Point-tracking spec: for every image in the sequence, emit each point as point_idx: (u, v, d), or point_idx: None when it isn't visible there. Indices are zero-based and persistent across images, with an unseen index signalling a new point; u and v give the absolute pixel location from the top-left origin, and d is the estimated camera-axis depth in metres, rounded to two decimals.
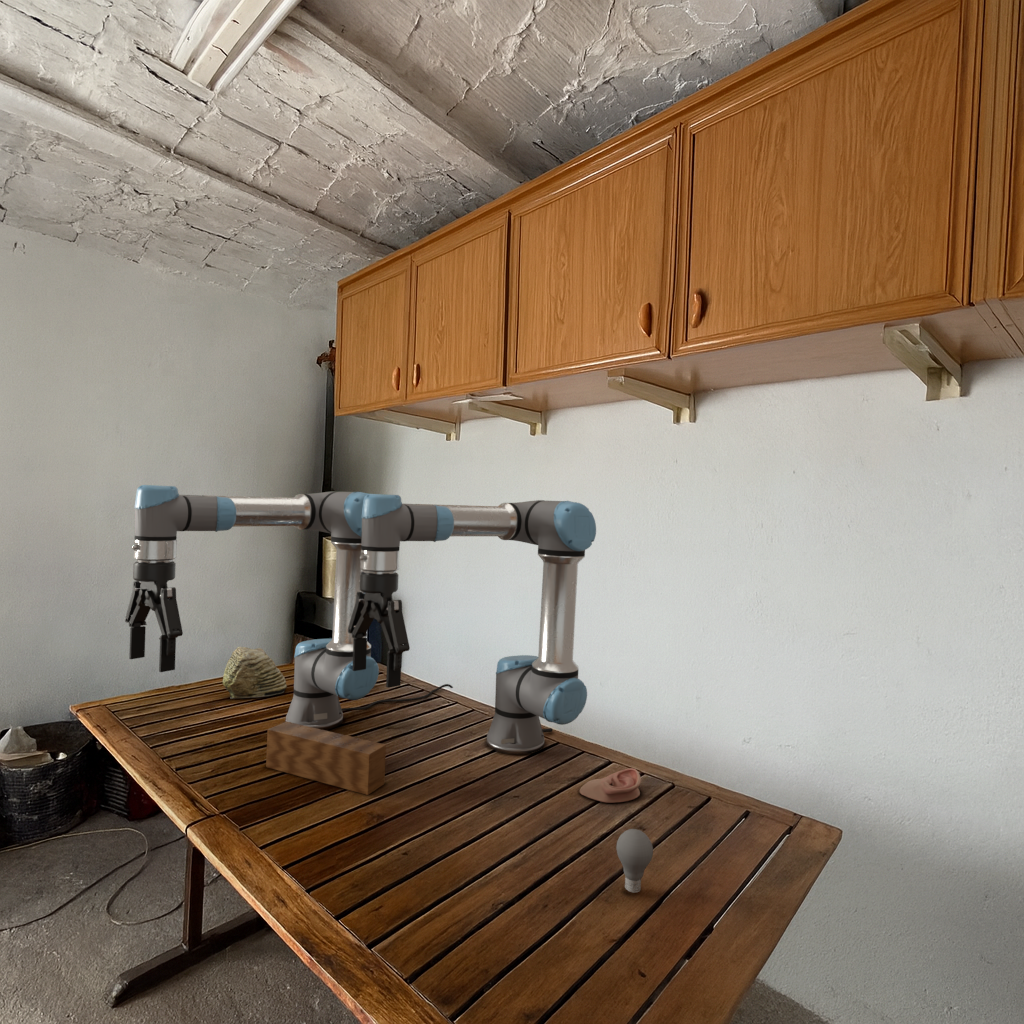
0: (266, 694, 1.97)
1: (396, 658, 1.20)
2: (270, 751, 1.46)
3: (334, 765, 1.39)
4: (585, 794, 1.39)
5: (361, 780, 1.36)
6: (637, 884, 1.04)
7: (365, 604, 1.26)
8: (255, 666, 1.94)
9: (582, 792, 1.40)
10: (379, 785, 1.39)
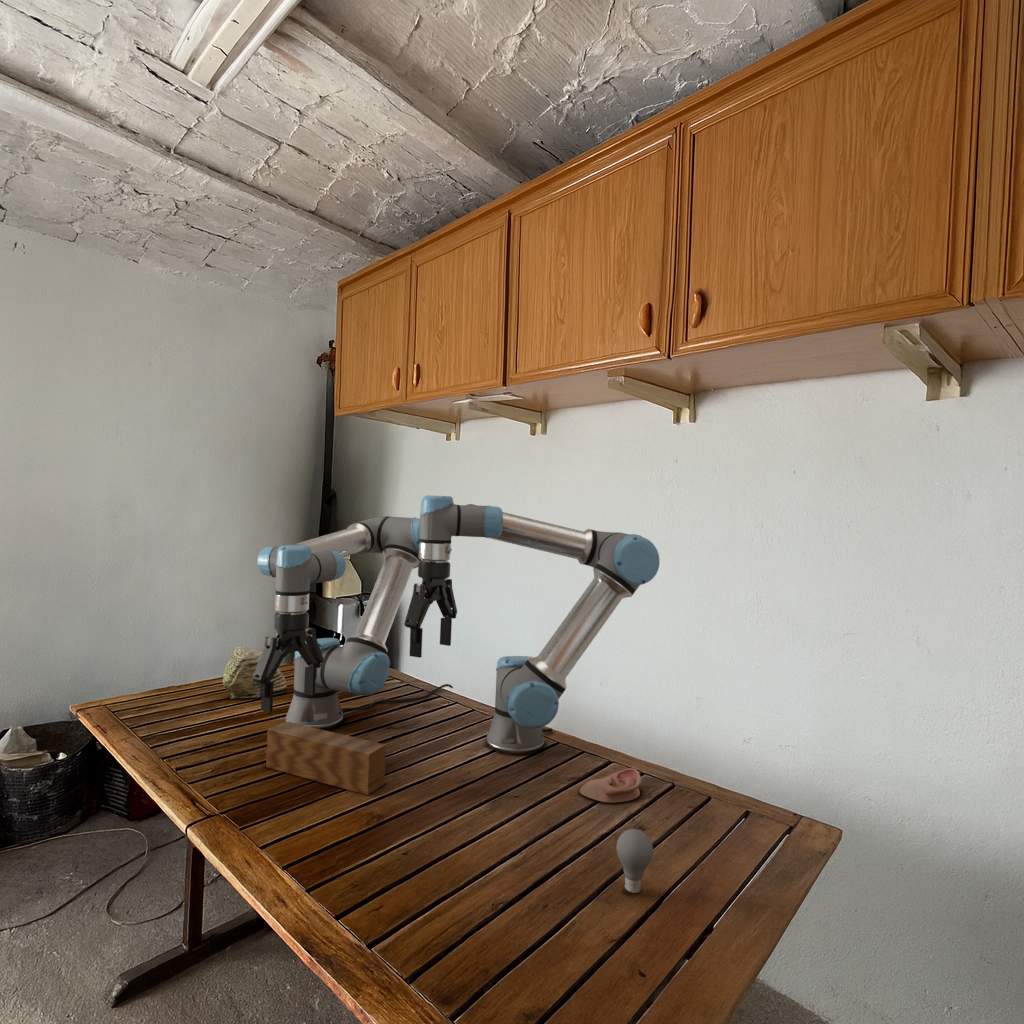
0: None
1: None
2: (270, 751, 1.46)
3: (334, 765, 1.39)
4: (585, 794, 1.39)
5: (361, 780, 1.36)
6: (637, 884, 1.04)
7: (437, 590, 1.47)
8: (255, 666, 1.94)
9: (582, 792, 1.40)
10: (379, 785, 1.39)
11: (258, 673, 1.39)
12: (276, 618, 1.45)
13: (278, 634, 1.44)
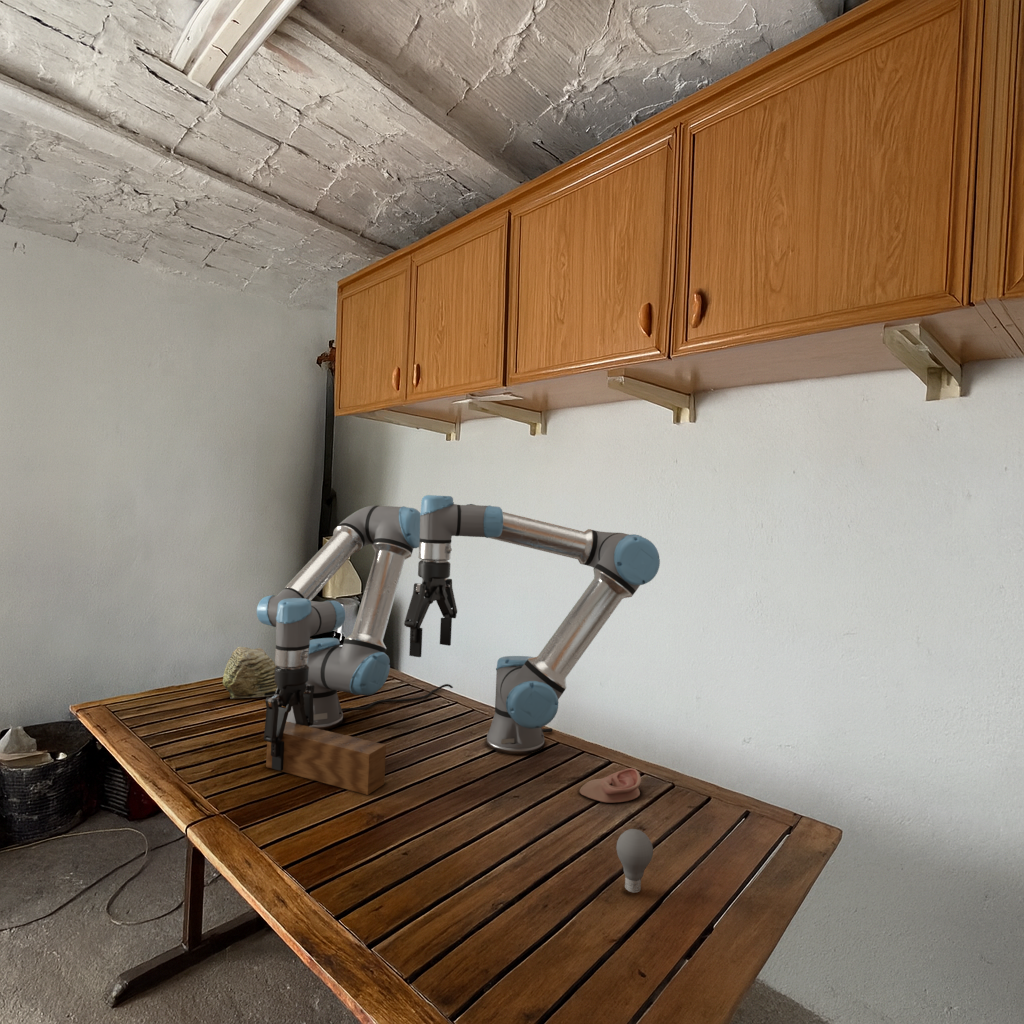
0: (266, 694, 1.97)
1: None
2: (270, 751, 1.46)
3: (334, 765, 1.39)
4: (585, 794, 1.39)
5: (361, 780, 1.36)
6: (637, 884, 1.04)
7: (437, 590, 1.47)
8: (255, 666, 1.94)
9: (582, 792, 1.40)
10: (379, 785, 1.39)
11: (268, 734, 1.42)
12: (276, 673, 1.45)
13: (278, 689, 1.45)
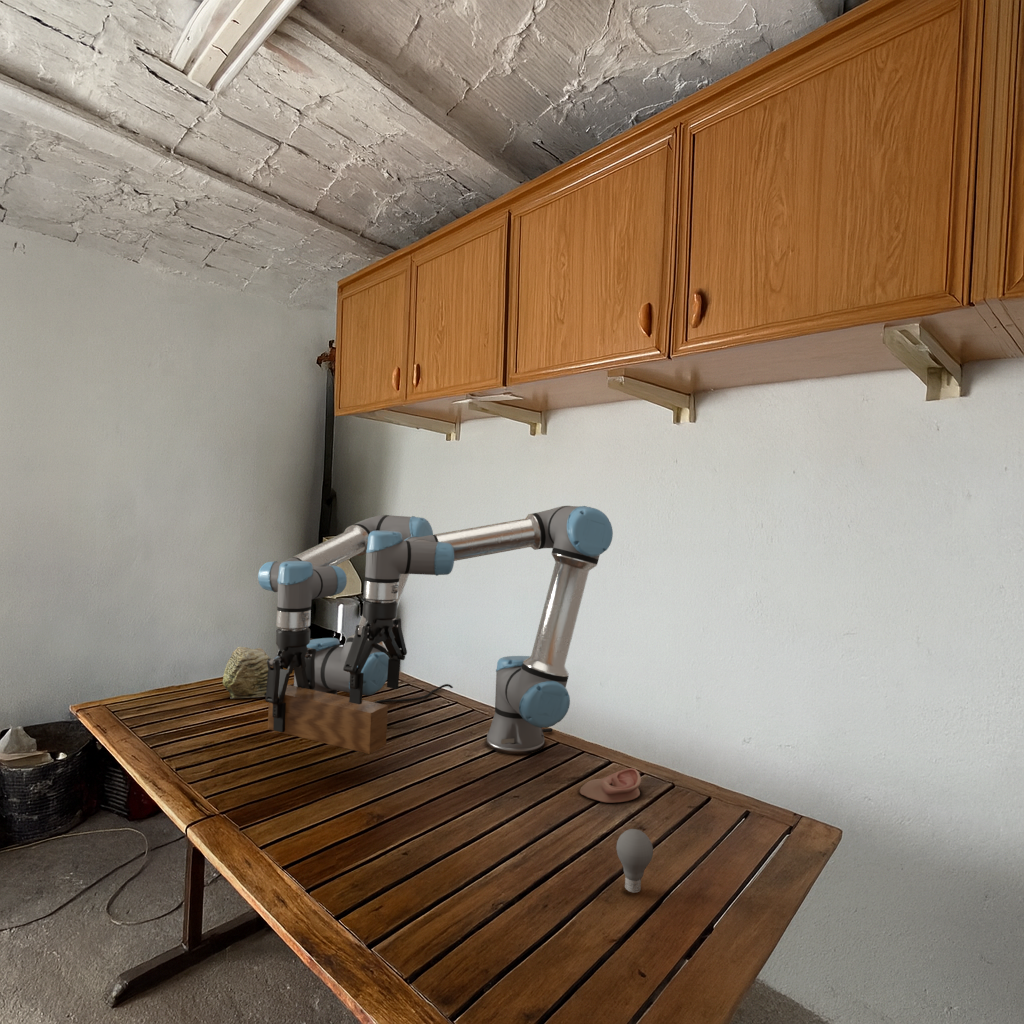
0: None
1: None
2: None
3: (336, 725, 1.39)
4: (585, 794, 1.39)
5: (363, 739, 1.36)
6: (637, 884, 1.04)
7: (381, 632, 1.39)
8: (255, 666, 1.94)
9: (582, 792, 1.40)
10: (381, 745, 1.39)
11: (269, 695, 1.42)
12: (278, 634, 1.45)
13: (280, 650, 1.44)
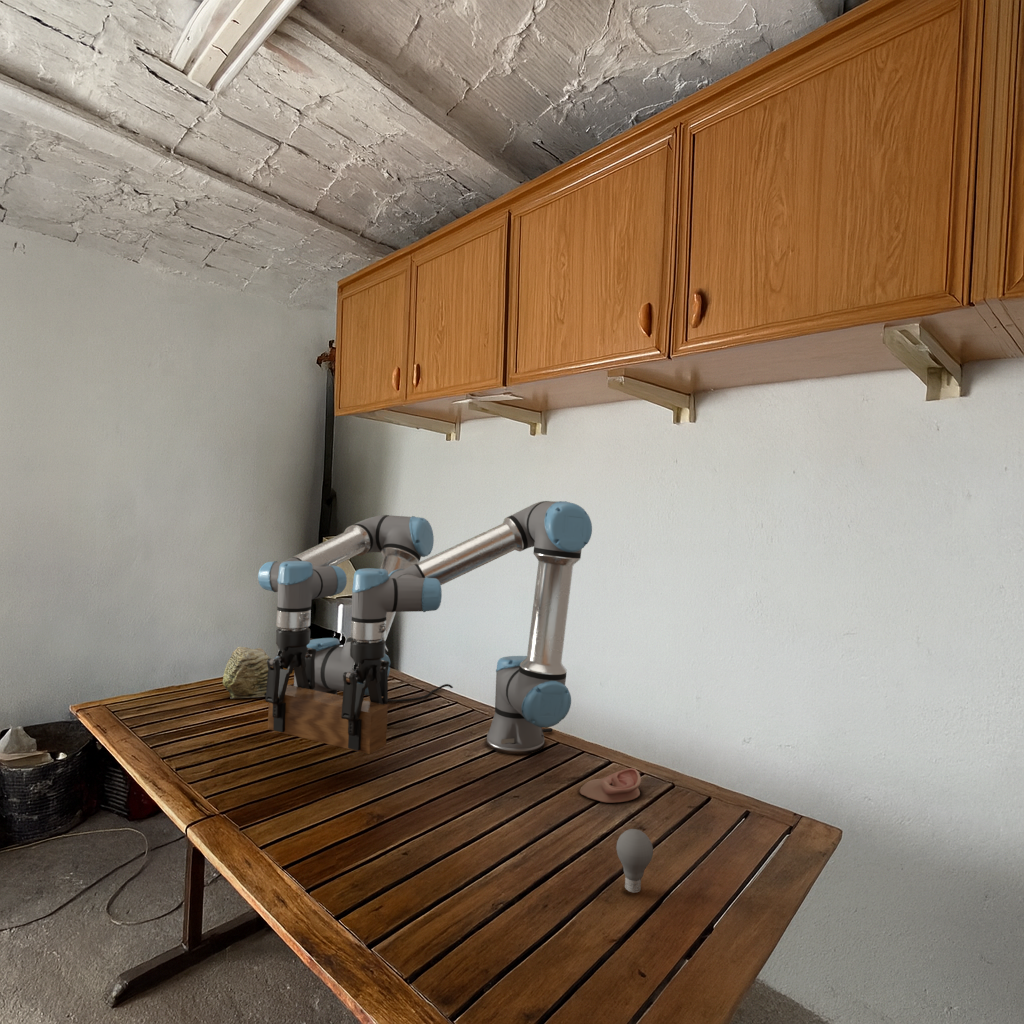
0: None
1: None
2: None
3: (336, 725, 1.39)
4: (585, 794, 1.39)
5: (363, 739, 1.36)
6: (637, 884, 1.04)
7: (370, 672, 1.37)
8: (255, 666, 1.94)
9: (582, 792, 1.40)
10: (381, 745, 1.39)
11: (269, 695, 1.42)
12: (278, 634, 1.45)
13: (280, 650, 1.44)
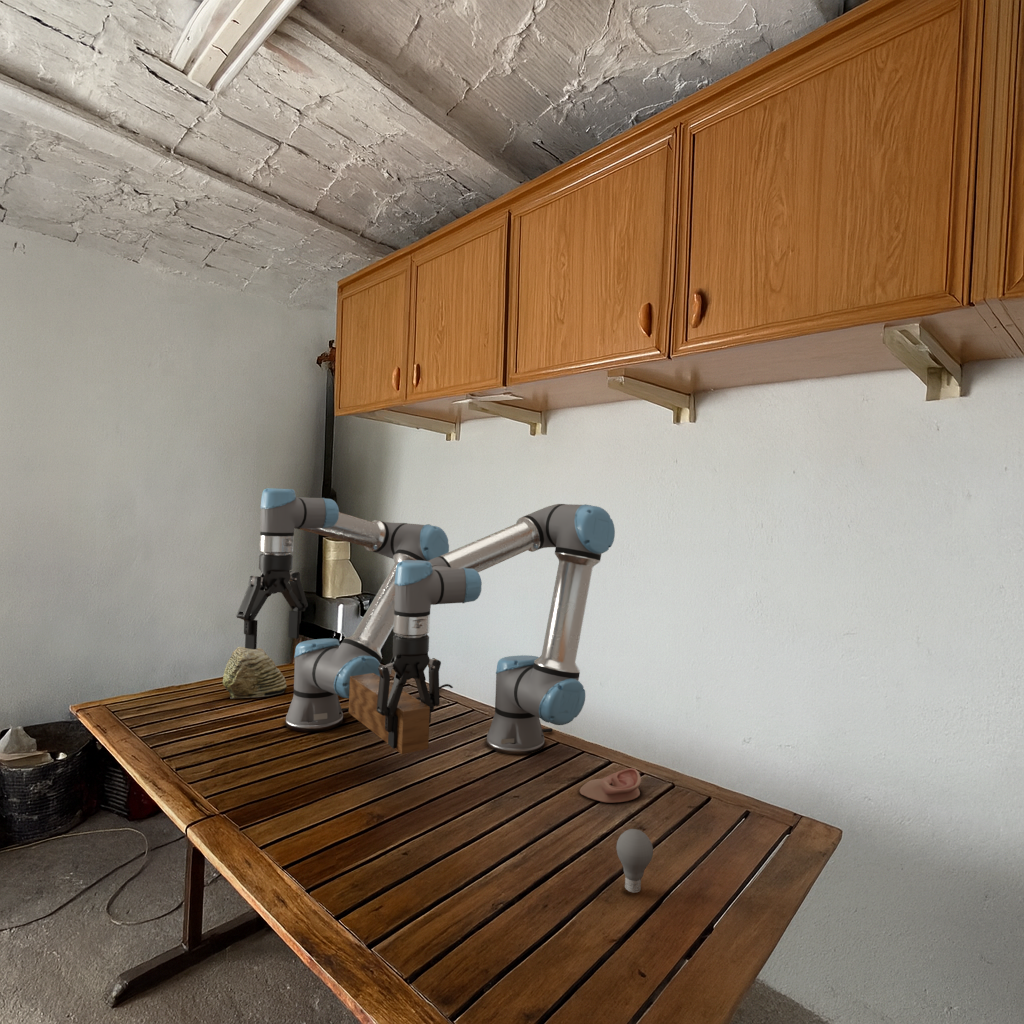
0: (266, 694, 1.97)
1: None
2: (350, 698, 1.51)
3: (383, 718, 1.36)
4: (585, 794, 1.39)
5: (398, 738, 1.30)
6: (637, 884, 1.04)
7: (408, 669, 1.31)
8: (255, 666, 1.94)
9: (582, 792, 1.40)
10: (420, 748, 1.31)
11: (242, 610, 1.41)
12: (260, 558, 1.47)
13: (262, 574, 1.46)
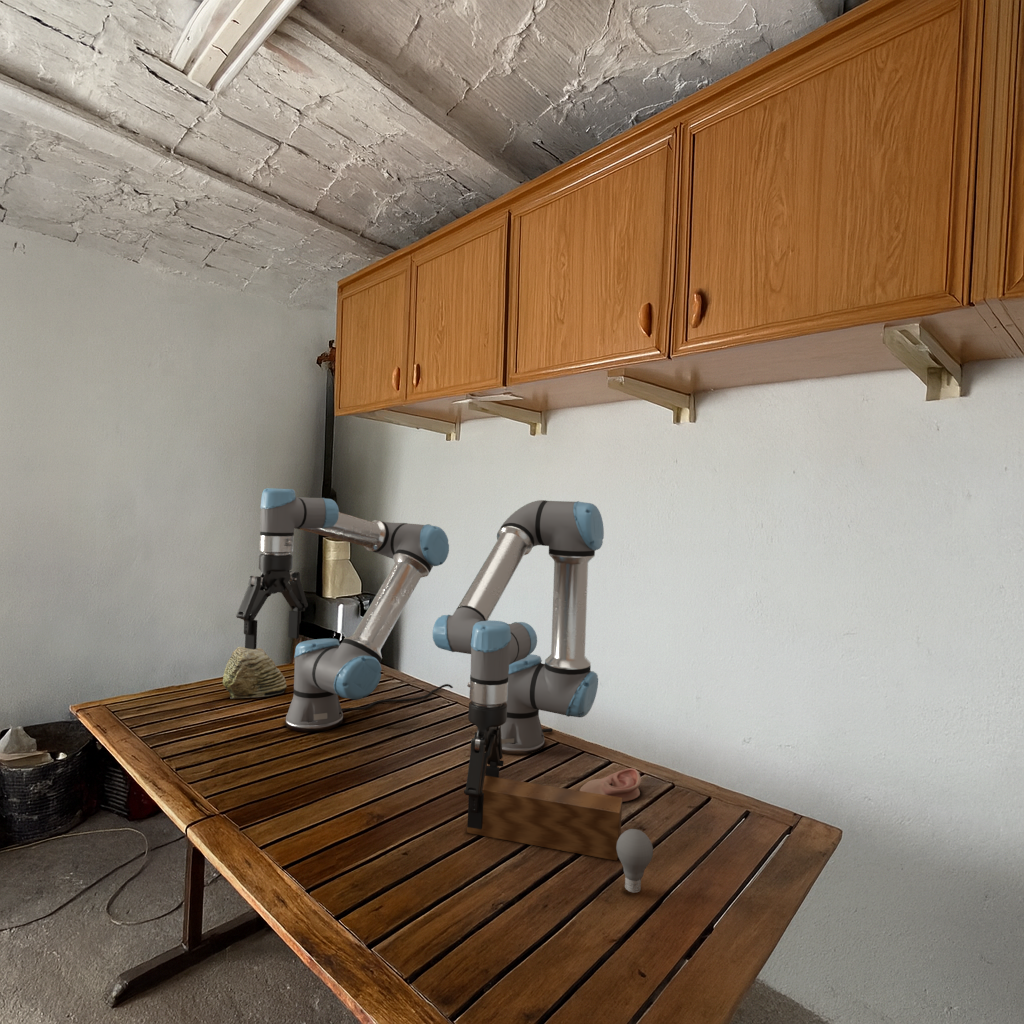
0: (266, 694, 1.97)
1: (471, 800, 1.17)
2: None
3: None
4: None
5: None
6: (637, 884, 1.04)
7: None
8: (255, 666, 1.94)
9: None
10: None
11: (242, 610, 1.41)
12: (260, 558, 1.47)
13: (262, 574, 1.46)
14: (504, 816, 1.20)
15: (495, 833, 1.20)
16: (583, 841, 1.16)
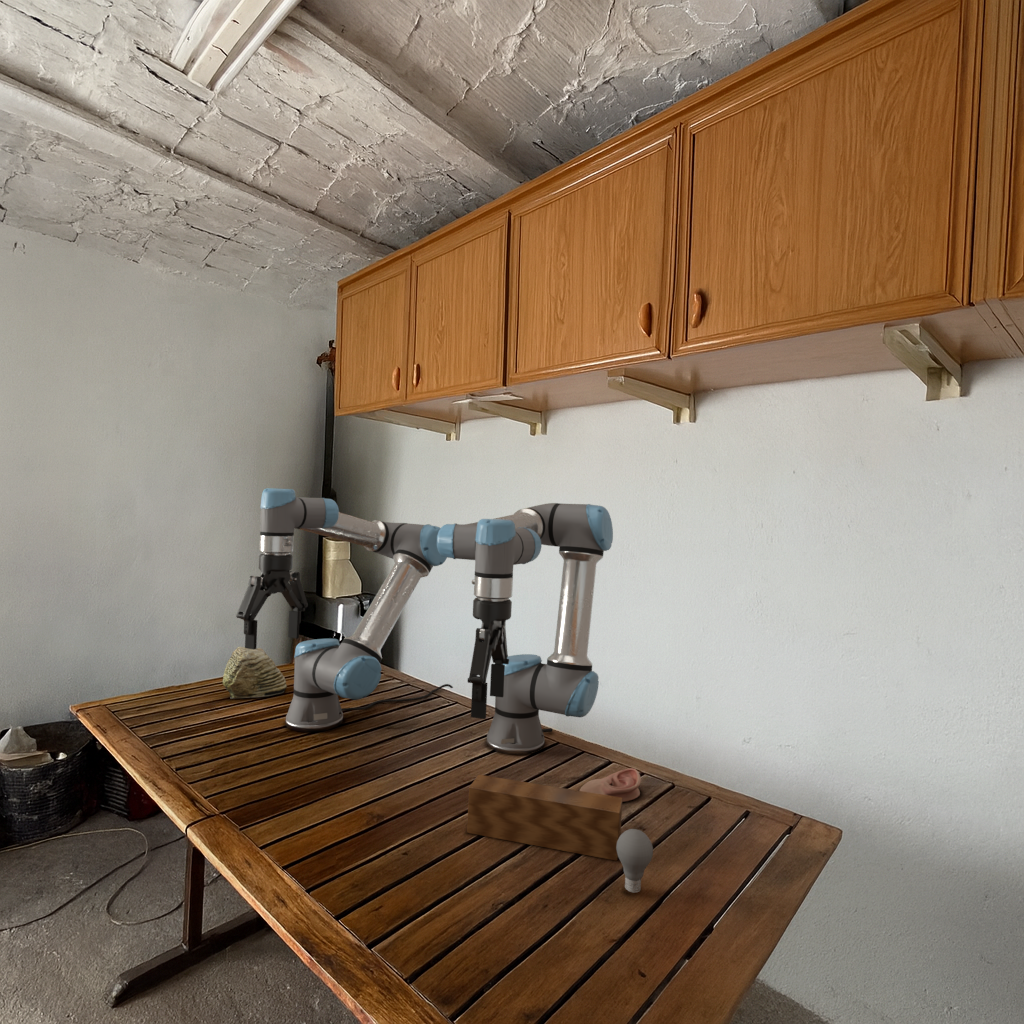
0: (266, 694, 1.97)
1: (475, 688, 1.16)
2: None
3: None
4: None
5: None
6: (637, 884, 1.04)
7: None
8: (255, 666, 1.94)
9: None
10: None
11: (242, 610, 1.41)
12: (260, 558, 1.47)
13: (262, 574, 1.46)
14: (504, 816, 1.20)
15: (495, 833, 1.20)
16: (583, 841, 1.16)
